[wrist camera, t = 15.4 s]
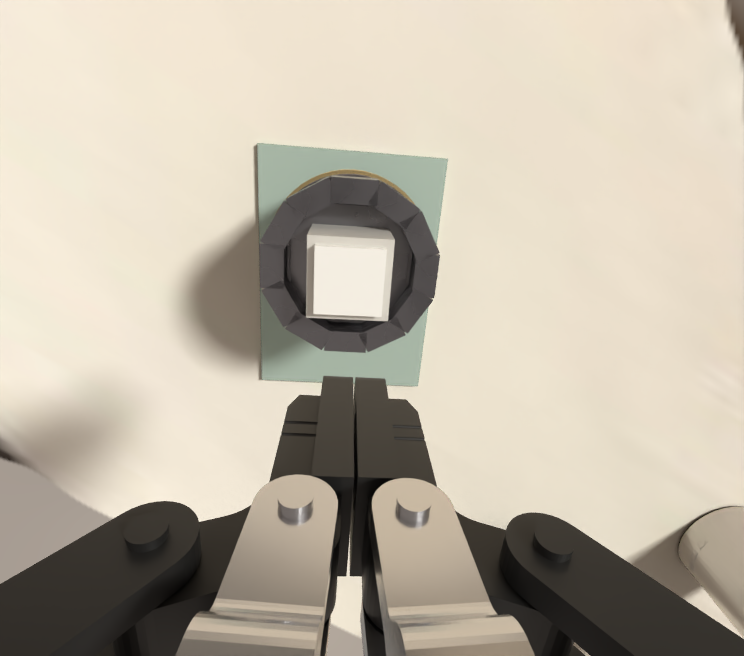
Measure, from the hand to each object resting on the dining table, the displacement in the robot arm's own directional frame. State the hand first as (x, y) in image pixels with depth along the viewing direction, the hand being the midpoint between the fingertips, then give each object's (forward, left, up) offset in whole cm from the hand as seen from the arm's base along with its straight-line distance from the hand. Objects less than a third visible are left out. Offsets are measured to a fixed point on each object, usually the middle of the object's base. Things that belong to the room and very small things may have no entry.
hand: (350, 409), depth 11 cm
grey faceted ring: (0, 0, -23) cm, 23 cm away
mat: (0, +3, -23) cm, 24 cm away
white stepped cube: (0, 0, -15) cm, 15 cm away
